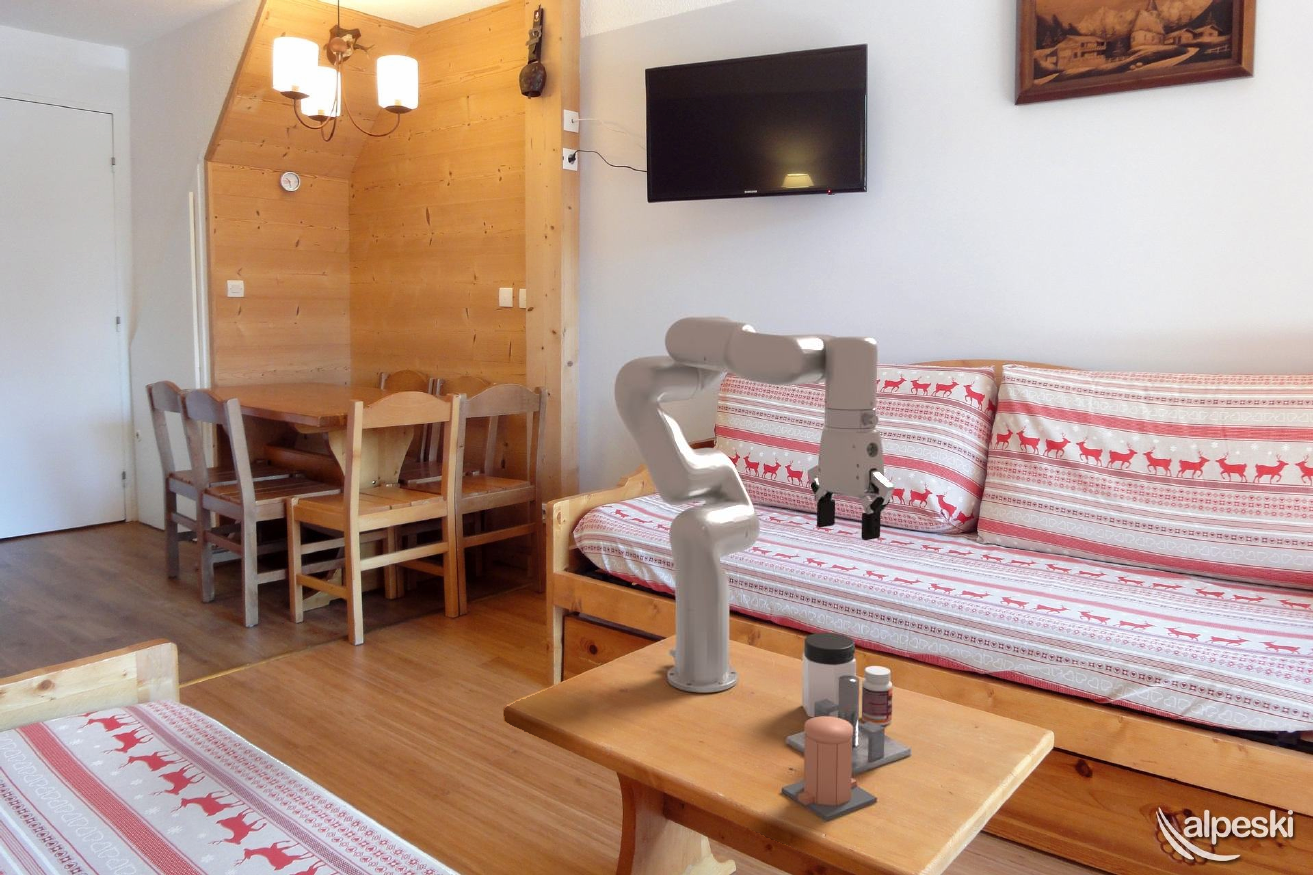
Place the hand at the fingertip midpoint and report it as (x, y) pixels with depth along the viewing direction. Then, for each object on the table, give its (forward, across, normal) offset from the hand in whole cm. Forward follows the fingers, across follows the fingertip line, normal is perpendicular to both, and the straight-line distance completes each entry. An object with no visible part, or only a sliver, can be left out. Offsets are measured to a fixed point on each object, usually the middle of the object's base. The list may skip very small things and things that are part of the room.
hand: (847, 532), depth 142 cm
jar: (+32, +8, -4) cm, 34 cm away
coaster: (+32, -13, +15) cm, 38 cm away
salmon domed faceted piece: (+32, -13, +15) cm, 37 cm away
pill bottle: (+32, +1, -8) cm, 33 cm away
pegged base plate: (+32, -4, +3) cm, 33 cm away
